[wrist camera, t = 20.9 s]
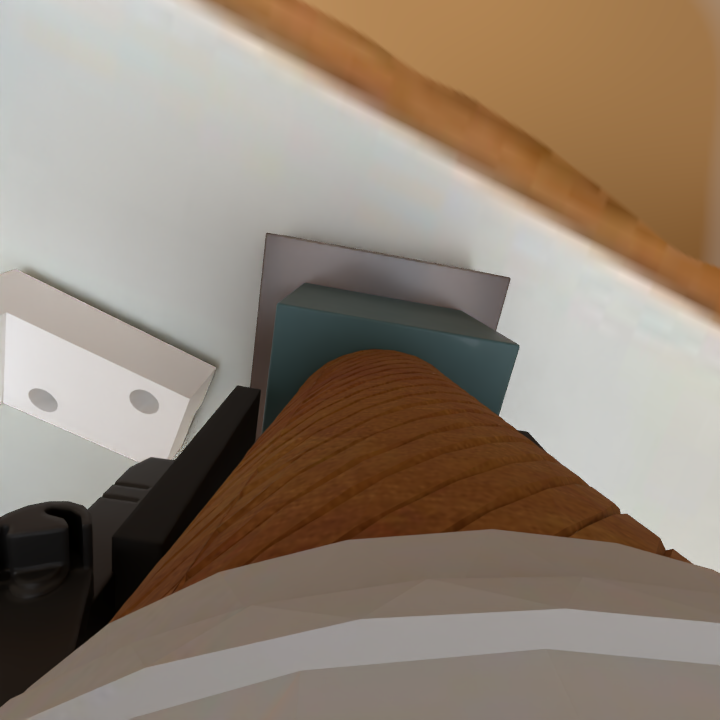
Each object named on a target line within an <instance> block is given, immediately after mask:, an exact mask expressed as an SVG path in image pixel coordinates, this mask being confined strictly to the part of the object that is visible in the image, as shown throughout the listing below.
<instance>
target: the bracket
mask: <svg viewBox="0 0 720 720" xmlns="http://www.w3.org/2000/svg"><path fill="white" fill-rule="evenodd" d="M215 370H216V367H214V366H212V365H210V364H208V363H206V362H204V361H202V360H200V359H198V358H196V357H194V356H192V355H190V354H188V353H186V352H184V351H182V350H180V349H178V348H176V347H174V346H172V345H170V344H167V343H165V342H163V341H161V340H159V339H157V338H155V337H153V336H151V335H149V334H147V333H145V332H143V331H141V330H139V329H137V328H135V327H133V326H131V325H129V324H127V323H125V322H123V321H121V320H119V319H117V318H115V317H113V316H111V315H109V314H107V313H105V312H102V311H100V310H98V309H96V308H94V307H92V306H90V305H88V304H86V303H84V302H82V301H80V300H78V299H76V298H74V297H72V296H70V295H68V294H66V293H64V292H62V291H60V290H58V289H56V288H54V287H52V286H50V285H48V284H46V283H44V282H42V281H39V280H37V279H35V278H33V277H31V276H29V275H27V274H25V273H23V272H21V271H19V270H17V269H14V270H11V271H8V272H5V273H2V274H0V405H1V404H2V403H4V404H6V405H9V406H11V407H13V408H15V409H18V410H20V411H22V412H25V413H27V414H29V415H31V416H34V417H36V418H38V419H41V420H43V421H45V422H47V423H50V424H52V425H54V426H57V427H59V428H61V429H63V430H66V431H68V432H70V433H73V434H75V435H77V436H79V437H82V438H84V439H86V440H89V441H91V442H93V443H95V444H98V445H100V446H102V447H105V448H107V449H109V450H111V451H114V452H116V453H118V454H121V455H123V456H125V457H127V458H130V459H132V460H134V461H137V462H139V463H140V462H142V461H144V460H146V459H148V458H150V457H155V458H162V459H169V460H172V459H173V457H174V456H175V455H176V453H177V452H178V451H179V449H180V448H181V447H182V445H183V442H184V440H185V437H186V435H187V432H188V430H189V427H190V425H191V422H192V420H193V417H194V415H195V412H196V411H197V410H198V409H199V407H200V406H201V405H202V403H203V400H204V398H205V395H206V393H207V390H208V388H209V385H210V383H211V380H212V378H213V375H214V373H215Z"/></svg>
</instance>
